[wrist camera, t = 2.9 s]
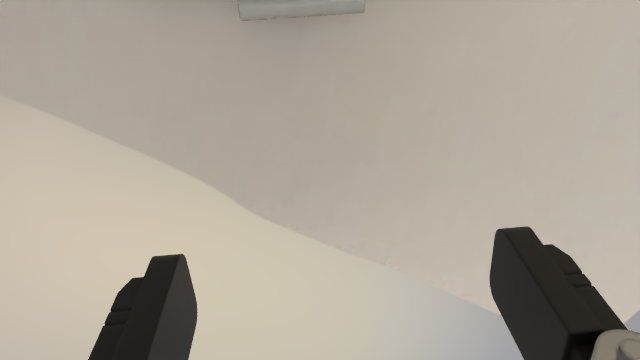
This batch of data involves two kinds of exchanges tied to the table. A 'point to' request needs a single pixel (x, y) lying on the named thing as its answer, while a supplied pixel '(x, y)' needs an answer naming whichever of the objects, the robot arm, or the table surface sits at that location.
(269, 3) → the drawer
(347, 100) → the table surface
